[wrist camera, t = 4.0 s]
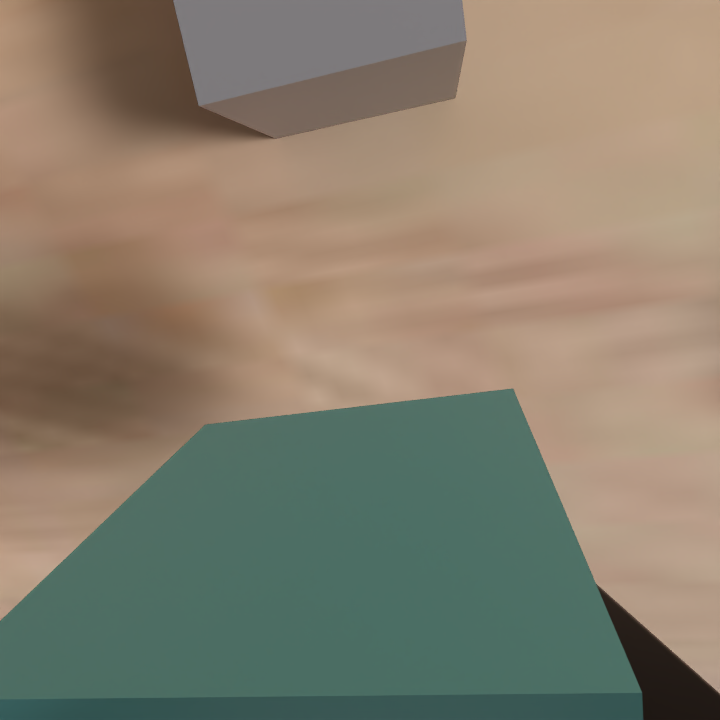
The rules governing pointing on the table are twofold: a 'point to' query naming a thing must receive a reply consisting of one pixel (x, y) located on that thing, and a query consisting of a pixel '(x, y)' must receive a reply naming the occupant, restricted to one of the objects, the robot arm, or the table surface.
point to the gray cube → (320, 58)
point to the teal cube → (329, 582)
